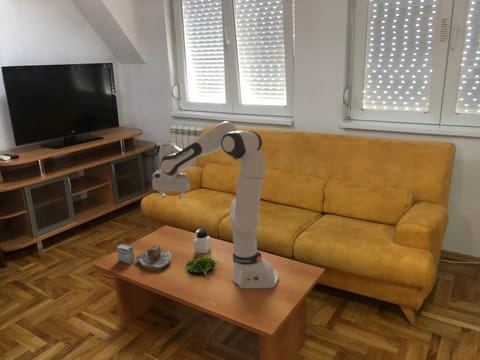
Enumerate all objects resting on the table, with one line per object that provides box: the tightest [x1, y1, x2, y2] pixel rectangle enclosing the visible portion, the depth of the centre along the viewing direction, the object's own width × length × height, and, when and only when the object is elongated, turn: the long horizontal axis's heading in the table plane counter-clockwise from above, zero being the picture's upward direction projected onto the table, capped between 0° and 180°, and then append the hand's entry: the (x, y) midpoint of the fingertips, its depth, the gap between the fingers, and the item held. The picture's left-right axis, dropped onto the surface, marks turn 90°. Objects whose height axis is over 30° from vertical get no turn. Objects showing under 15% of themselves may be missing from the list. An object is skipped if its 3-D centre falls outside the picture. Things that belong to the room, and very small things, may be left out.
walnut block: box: [146, 244, 161, 260], centre depth 218 cm, size 5×5×6 cm
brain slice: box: [135, 249, 172, 271], centre depth 220 cm, size 20×17×3 cm
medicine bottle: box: [193, 228, 212, 254], centre depth 228 cm, size 7×7×12 cm
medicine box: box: [116, 243, 136, 265], centre depth 221 cm, size 8×4×9 cm, turn 62°
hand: (172, 198), depth 222 cm, fingers open, 8 cm apart
